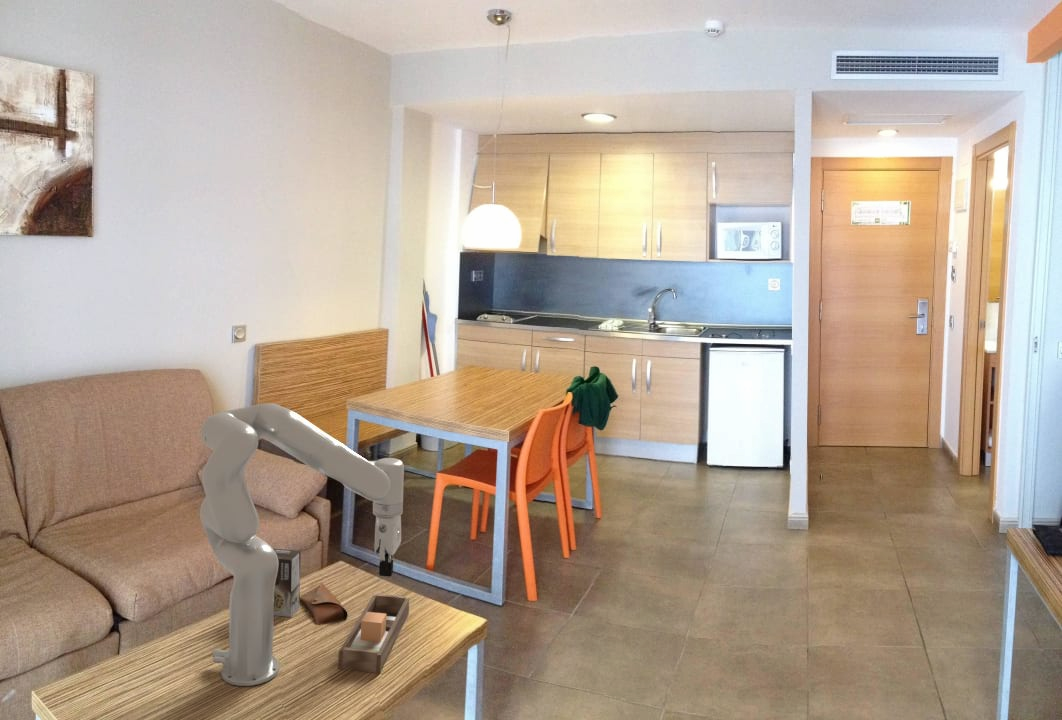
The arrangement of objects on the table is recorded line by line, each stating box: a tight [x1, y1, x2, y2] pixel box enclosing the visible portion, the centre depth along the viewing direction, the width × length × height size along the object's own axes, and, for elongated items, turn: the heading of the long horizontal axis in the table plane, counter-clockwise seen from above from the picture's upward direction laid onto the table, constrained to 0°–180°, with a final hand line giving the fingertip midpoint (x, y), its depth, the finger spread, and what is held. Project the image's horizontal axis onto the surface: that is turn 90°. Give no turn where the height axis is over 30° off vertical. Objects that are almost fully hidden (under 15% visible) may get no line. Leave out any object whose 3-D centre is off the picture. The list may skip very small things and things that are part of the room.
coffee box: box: [273, 548, 302, 618], centre depth 211 cm, size 9×6×16 cm
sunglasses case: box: [300, 582, 349, 626], centre depth 216 cm, size 18×7×7 cm, turn 35°
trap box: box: [338, 593, 410, 674], centre depth 201 cm, size 10×30×5 cm, turn 176°
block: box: [361, 612, 386, 642], centre depth 197 cm, size 5×5×5 cm
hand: (386, 574), depth 205 cm, fingers closed
